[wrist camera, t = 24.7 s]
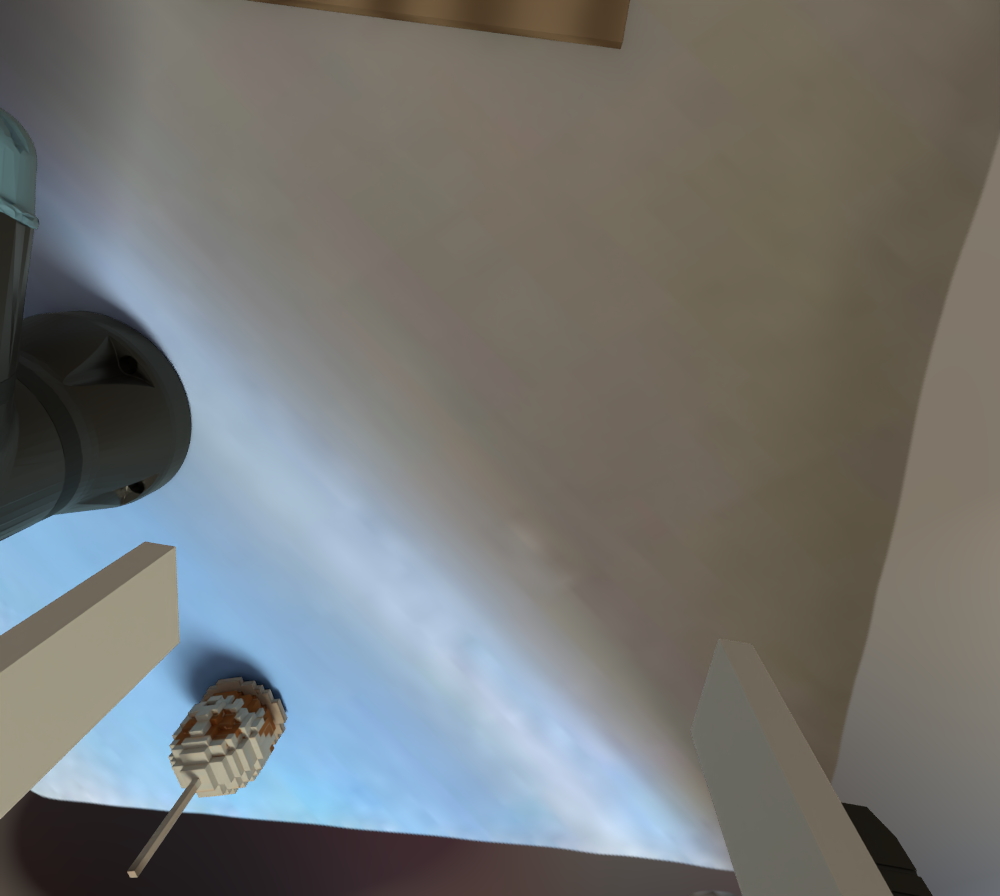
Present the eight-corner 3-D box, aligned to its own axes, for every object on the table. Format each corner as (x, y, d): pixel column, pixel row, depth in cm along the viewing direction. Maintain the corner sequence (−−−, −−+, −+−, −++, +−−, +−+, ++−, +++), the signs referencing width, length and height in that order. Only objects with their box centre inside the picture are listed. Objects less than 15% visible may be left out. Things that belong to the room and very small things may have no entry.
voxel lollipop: (272, 668, 50) (162, 826, 35) (299, 737, 52) (204, 912, 38) (195, 679, 51) (57, 835, 37) (224, 745, 53) (104, 918, 39)
